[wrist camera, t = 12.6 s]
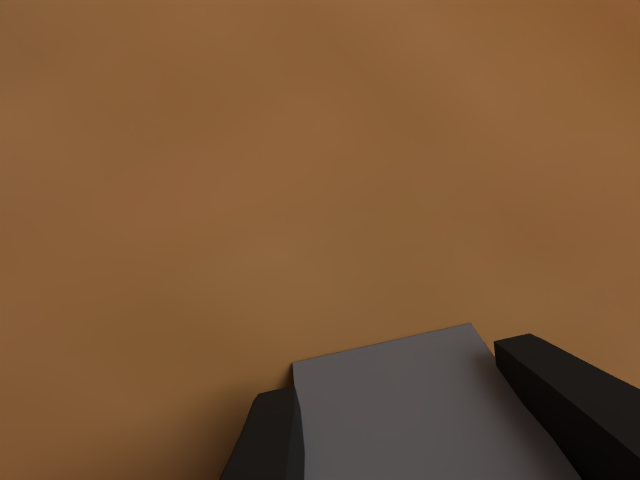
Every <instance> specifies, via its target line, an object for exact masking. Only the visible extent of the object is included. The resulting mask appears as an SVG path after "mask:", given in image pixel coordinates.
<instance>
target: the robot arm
mask: <svg viewBox="0 0 640 480" xmlns="http://www.w3.org/2000/svg"><path fill="white" fill-rule="evenodd" d="M494 349H495V359H496V366H497V368H498V369H499V371H500V372H501V373H502V375H503V376H504V378H505V379H506V381H507V382H508V384H509V385H510V386H511V388H512V389H513V391H514V392H515V394H516V395H517V396H518V398H519V399H520V401H521V402H522V404H523V405H524V406H525V407H526V408H527V409H528V410H529V412H530V413H531V414H532V415H533V416H534V417H535V419H536V420H537V421H538V422H539V423H540V424H541V426H542V427H543V428H544V429H545V430H546V431H547V432H548V434H549V435H550V436H551V437H552V438H553V440H554V441H555V442H556V444H557V445H558V447H559V448H560V449H561V451H562V452H563V454H564V455H565V456H566V458H567V459H568V461H569V462H570V464H571V465H572V466H573V468H574V469H575V471H576V472H577V473H578V475H579V476H580V478H581V479H582V480H640V389H638V388H636V387H634V386H632V385H630V384H628V383H626V382H624V381H622V380H620V379H618V378H616V377H614V376H612V375H610V374H608V373H606V372H604V371H602V370H600V369H598V368H596V367H595V366H593V365H591V364H589V363H587V362H585V361H583V360H581V359H579V358H577V357H575V356H574V355H572V354H570V353H568V352H566V351H564V350H562V349H560V348H558V347H556V346H554V345H552V344H551V343H549V342H547V341H545V340H543V339H541V338H539V337H536V336H534V335H532V334H530V333H529V334H525V335H520V336H516V337H511V338H507V339H502V340H498V341H494ZM304 471H305V447H304V437H303V427H302V416H301V408H300V404H299V400H298V396H297V392H296V388H295V386H291V387H287V388H282V389H278V390H273V391H269V392H264V393H260V394H258V395H257V397H256V398H255V399H254V401H253V403H252V406H251V409H250V411H249V414H248V417H247V419H246V422H245V424H244V426H243V429H242V431H241V434H240V436H239V438H238V440H237V443H236V445H235V447H234V449H233V452H232V454H231V456H230V458H229V460H228V462H227V464H226V466H225V468H224V470H223V473H222V475H221V477H220V479H219V480H304Z"/></svg>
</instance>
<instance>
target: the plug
mask: <svg viewBox="0 0 640 480" xmlns="http://www.w3.org/2000/svg"><path fill="white" fill-rule="evenodd" d="M293 375H294V386H295V388H296V392H297V396H298V400H299V404H300V408H301V416H302V427H303V437H304V447H305V471H304V480H582V479H581V478H580V476H579V475H578V473H577V472H576V471H575V469H574V468H573V466H572V465H571V464H570V462H569V461H568V459H567V458H566V456H565V455H564V454H563V452H562V451H561V449H560V448H559V447H558V445H557V444H556V442H555V441H554V440H553V438H552V437H551V436H550V435H549V434H548V432H547V431H546V430H545V429H544V428H543V427H542V426H541V424H540V423H539V422H538V421H537V420H536V419H535V417H534V416H533V415H532V414H531V413H530V412H529V410H528V409H527V408H526V407H525V406H524V405H523V404H522V402H521V401H520V399H519V398H518V396H517V395H516V394H515V392H514V391H513V389H512V388H511V386H510V385H509V384H508V382H507V381H506V379H505V378H504V376H503V375H502V373H501V372H500V371H499V369H498V368H497V366H496V359H495V357H494V355H493V354H492V352H491V351H490V350H489V348H488V347H487V345H486V344H485V343H484V341H483V340H482V338H481V337H480V336H479V334H478V333H477V331H476V330H475V328H474V327H473V326H472V324H471V323H469V324H465V325H460V326H456V327H451V328H447V329H442V330H438V331H433V332H429V333H424V334H420V335H415V336H411V337H406V338H402V339H397V340H393V341H388V342H384V343H379V344H375V345H370V346H366V347H361V348H357V349H352V350H348V351H343V352H339V353H334V354H330V355H325V356H321V357H316V358H312V359H307V360H303V361H298V362H294V363H293Z"/></svg>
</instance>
